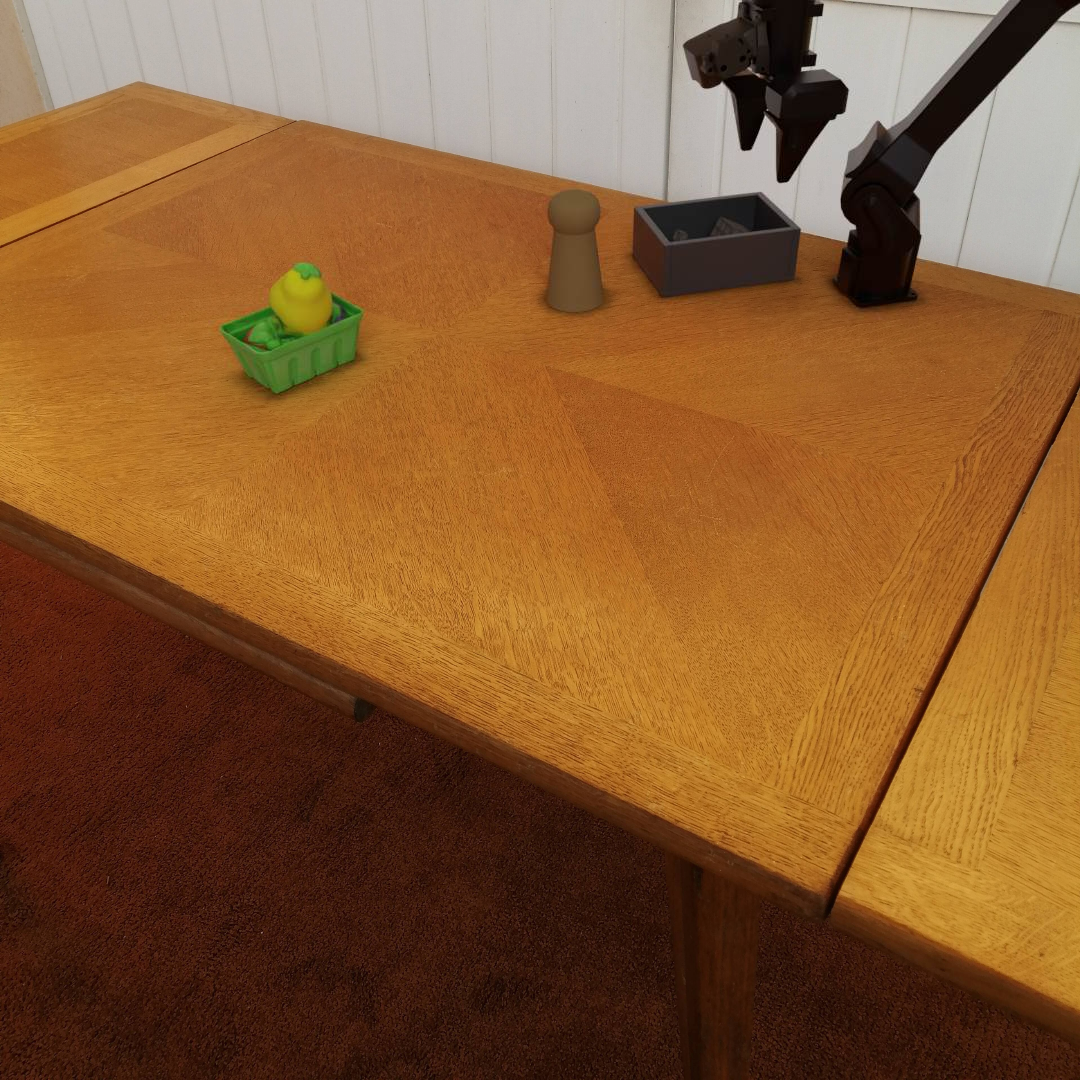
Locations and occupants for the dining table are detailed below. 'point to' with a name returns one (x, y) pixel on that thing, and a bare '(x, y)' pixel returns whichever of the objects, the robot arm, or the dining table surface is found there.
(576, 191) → the brown pepper mill
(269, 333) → the fruit basket
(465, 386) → the dining table surface
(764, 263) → the bin
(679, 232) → the building blocks
